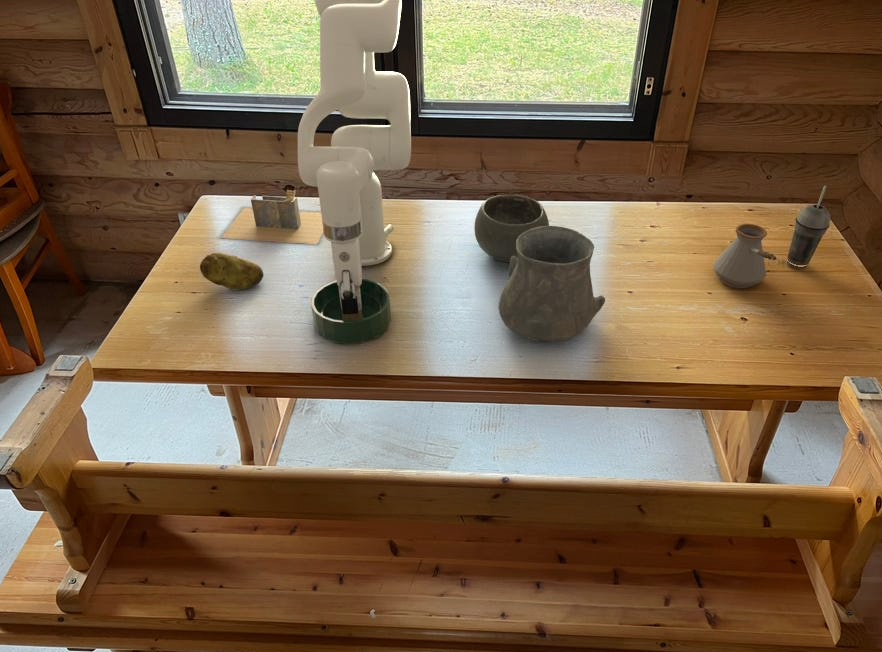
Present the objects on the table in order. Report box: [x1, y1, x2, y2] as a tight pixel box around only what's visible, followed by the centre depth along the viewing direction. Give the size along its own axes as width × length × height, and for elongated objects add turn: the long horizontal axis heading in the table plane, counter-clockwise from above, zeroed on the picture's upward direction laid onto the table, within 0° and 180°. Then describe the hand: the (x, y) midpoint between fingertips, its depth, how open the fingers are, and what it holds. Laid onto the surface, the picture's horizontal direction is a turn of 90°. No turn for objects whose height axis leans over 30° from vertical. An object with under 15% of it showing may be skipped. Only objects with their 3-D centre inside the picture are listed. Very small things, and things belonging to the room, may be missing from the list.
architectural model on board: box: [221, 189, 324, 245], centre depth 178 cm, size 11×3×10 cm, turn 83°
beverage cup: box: [785, 185, 831, 271], centre depth 159 cm, size 7×7×20 cm
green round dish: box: [310, 278, 392, 345], centre depth 146 cm, size 16×16×6 cm
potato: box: [199, 252, 264, 291], centre depth 156 cm, size 8×13×8 cm, turn 80°
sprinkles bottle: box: [339, 271, 363, 321], centre depth 143 cm, size 5×5×13 cm
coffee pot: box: [713, 223, 781, 289], centre depth 152 cm, size 21×12×15 cm, turn 176°
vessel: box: [498, 225, 606, 343], centre depth 141 cm, size 22×22×20 cm
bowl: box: [473, 194, 550, 263], centre depth 165 cm, size 18×18×13 cm
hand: (350, 299), depth 144 cm, fingers open, 9 cm apart
